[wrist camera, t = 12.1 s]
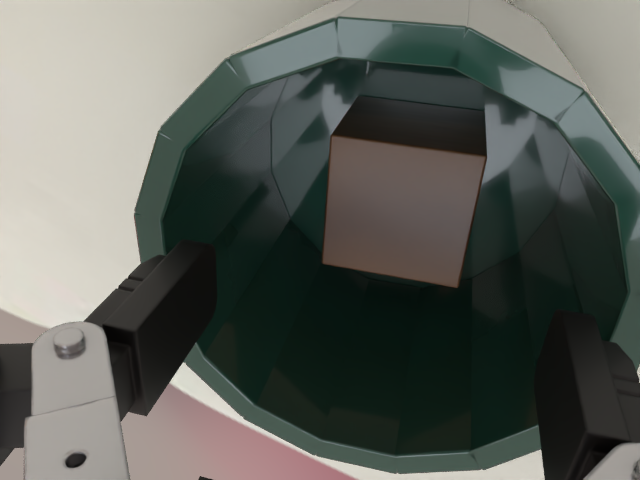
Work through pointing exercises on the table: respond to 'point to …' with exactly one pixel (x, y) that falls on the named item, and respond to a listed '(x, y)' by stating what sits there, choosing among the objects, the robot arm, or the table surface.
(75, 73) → the table surface
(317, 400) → the pot
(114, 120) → the table surface
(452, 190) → the block
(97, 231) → the table surface
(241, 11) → the table surface
